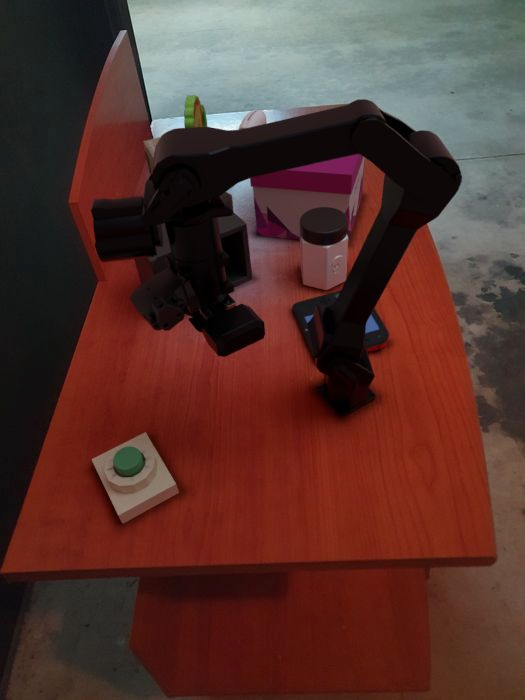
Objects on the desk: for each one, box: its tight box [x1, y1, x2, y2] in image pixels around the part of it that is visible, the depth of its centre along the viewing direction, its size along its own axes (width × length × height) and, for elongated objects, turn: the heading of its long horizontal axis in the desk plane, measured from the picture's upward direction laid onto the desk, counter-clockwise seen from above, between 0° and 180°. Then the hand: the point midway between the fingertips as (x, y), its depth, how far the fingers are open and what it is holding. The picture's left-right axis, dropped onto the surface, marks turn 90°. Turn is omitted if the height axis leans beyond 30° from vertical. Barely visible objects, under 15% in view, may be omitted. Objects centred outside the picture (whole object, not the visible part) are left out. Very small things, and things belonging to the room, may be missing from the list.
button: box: [113, 446, 144, 477], centre depth 74 cm, size 4×4×2 cm
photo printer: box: [237, 109, 268, 130], centre depth 132 cm, size 10×4×12 cm, turn 160°
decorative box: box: [249, 154, 366, 242], centre depth 114 cm, size 19×19×15 cm
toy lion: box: [183, 94, 209, 128], centre depth 136 cm, size 16×5×15 cm, turn 176°
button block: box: [91, 431, 180, 525], centre depth 75 cm, size 10×8×4 cm
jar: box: [299, 207, 349, 291], centre depth 101 cm, size 9×8×12 cm
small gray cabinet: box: [133, 212, 253, 288], centre depth 102 cm, size 10×18×12 cm, turn 122°
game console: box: [291, 289, 390, 362], centre depth 94 cm, size 14×13×2 cm
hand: (214, 346), depth 75 cm, fingers closed
